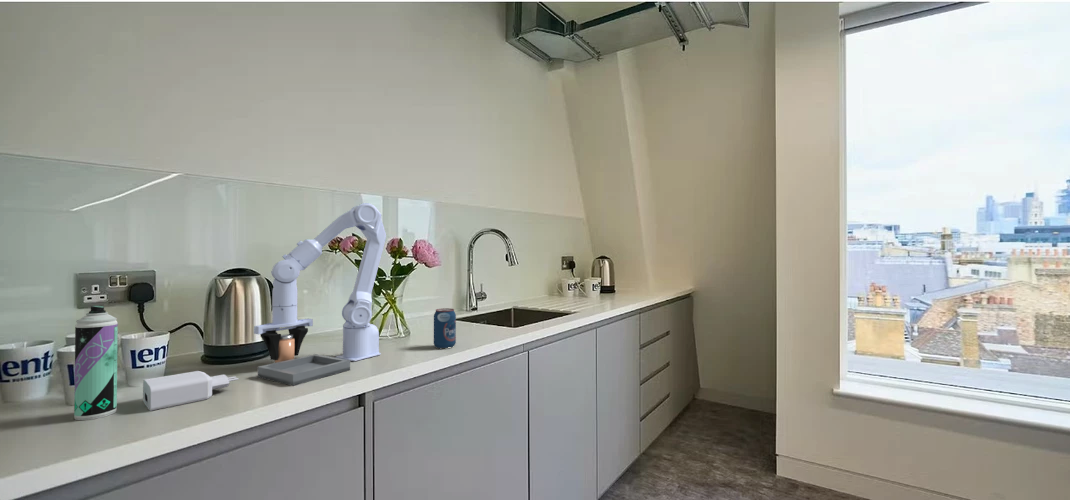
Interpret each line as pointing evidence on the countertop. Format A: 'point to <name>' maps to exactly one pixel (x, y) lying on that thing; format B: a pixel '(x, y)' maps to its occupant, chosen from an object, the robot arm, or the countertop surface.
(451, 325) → the soda can
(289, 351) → the cylinder
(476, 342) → the countertop surface
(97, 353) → the spray can
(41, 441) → the countertop surface
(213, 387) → the charger
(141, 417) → the countertop surface
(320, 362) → the tray
